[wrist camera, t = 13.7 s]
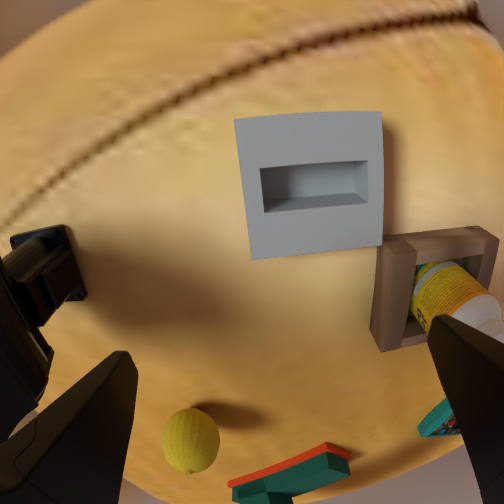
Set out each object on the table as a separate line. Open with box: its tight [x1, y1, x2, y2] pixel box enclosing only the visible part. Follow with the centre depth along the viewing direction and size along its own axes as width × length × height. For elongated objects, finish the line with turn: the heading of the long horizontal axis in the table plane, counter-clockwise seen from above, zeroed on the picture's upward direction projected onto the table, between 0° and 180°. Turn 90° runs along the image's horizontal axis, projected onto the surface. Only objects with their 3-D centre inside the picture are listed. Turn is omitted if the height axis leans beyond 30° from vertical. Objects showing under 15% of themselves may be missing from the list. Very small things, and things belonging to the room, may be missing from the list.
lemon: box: [162, 408, 220, 475], centre depth 25 cm, size 6×6×8 cm
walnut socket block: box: [370, 226, 499, 352], centre depth 21 cm, size 10×8×3 cm
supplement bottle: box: [409, 259, 504, 343], centre depth 17 cm, size 5×5×10 cm
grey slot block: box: [234, 111, 384, 260], centre depth 17 cm, size 8×8×3 cm
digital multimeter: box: [417, 398, 461, 437], centre depth 31 cm, size 7×15×3 cm, turn 69°
